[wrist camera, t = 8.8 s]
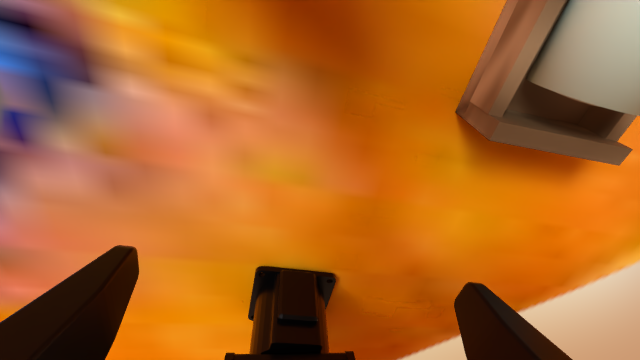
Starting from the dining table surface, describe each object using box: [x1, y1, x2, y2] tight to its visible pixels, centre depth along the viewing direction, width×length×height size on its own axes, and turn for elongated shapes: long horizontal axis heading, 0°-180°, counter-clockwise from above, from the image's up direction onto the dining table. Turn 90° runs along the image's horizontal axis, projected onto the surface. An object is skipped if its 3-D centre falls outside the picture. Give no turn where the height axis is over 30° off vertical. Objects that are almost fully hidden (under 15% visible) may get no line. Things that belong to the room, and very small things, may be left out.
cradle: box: [456, 0, 637, 165], centre depth 15 cm, size 14×8×4 cm, turn 167°
